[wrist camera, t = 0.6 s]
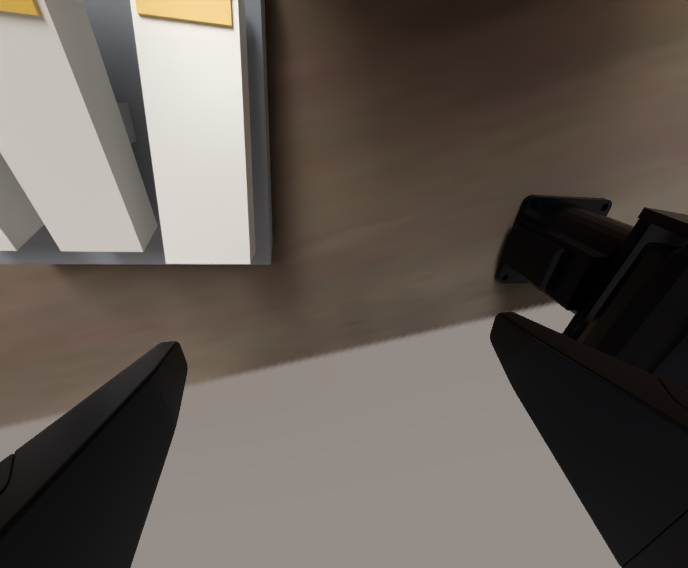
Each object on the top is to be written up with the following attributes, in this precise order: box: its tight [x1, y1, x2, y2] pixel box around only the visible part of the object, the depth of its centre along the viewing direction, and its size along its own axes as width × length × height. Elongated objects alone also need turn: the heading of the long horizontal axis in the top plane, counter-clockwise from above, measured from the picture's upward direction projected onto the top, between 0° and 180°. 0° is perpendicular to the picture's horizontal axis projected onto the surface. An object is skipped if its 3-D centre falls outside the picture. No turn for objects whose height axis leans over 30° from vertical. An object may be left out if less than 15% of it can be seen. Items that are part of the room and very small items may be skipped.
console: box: [0, 0, 273, 265], centre depth 13 cm, size 13×13×4 cm
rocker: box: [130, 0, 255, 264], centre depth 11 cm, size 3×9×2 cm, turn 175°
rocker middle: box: [0, 0, 158, 252], centre depth 10 cm, size 3×9×2 cm, turn 175°
